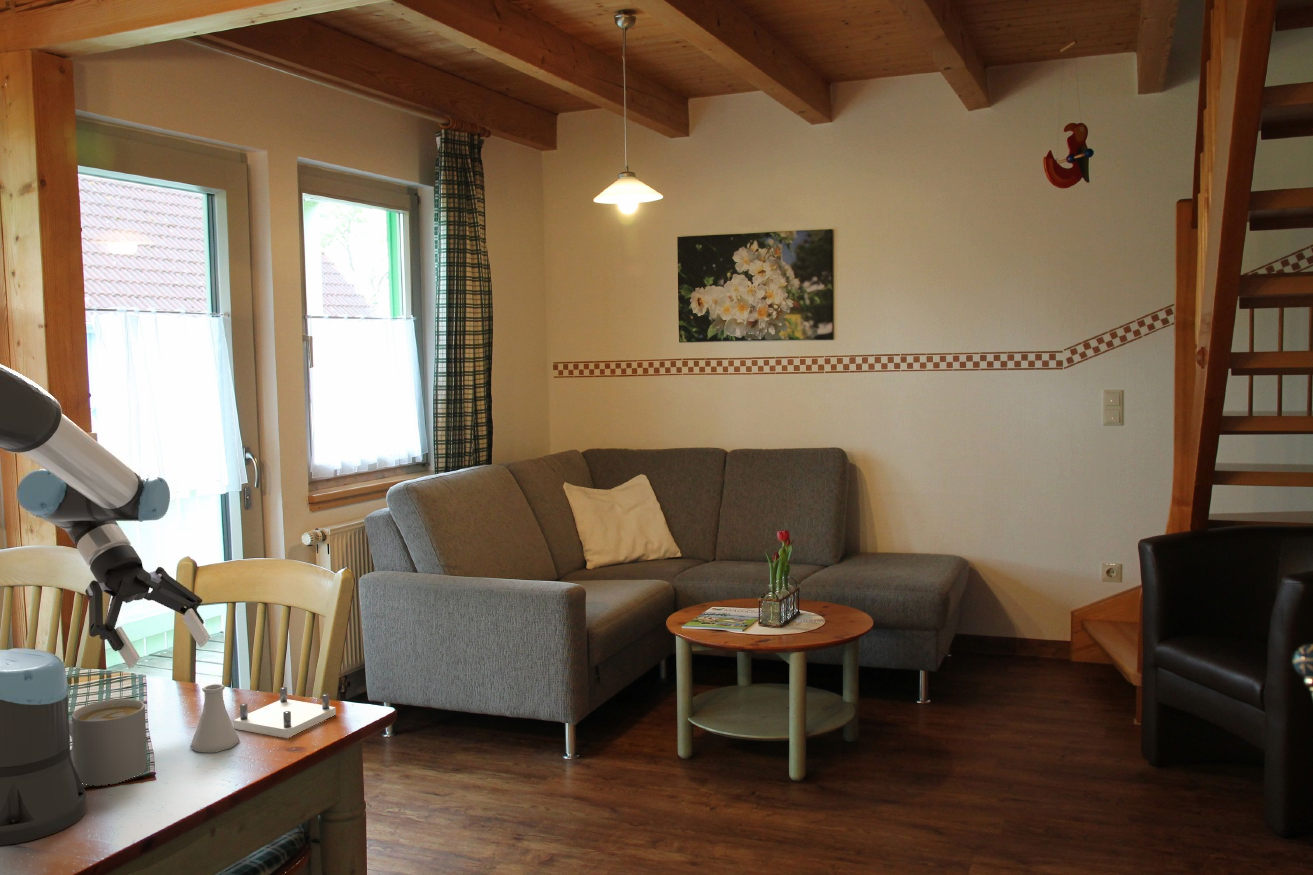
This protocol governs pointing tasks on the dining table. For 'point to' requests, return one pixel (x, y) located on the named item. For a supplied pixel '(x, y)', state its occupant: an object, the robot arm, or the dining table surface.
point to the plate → (272, 718)
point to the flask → (214, 723)
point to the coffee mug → (109, 741)
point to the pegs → (287, 713)
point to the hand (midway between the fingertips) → (171, 652)
